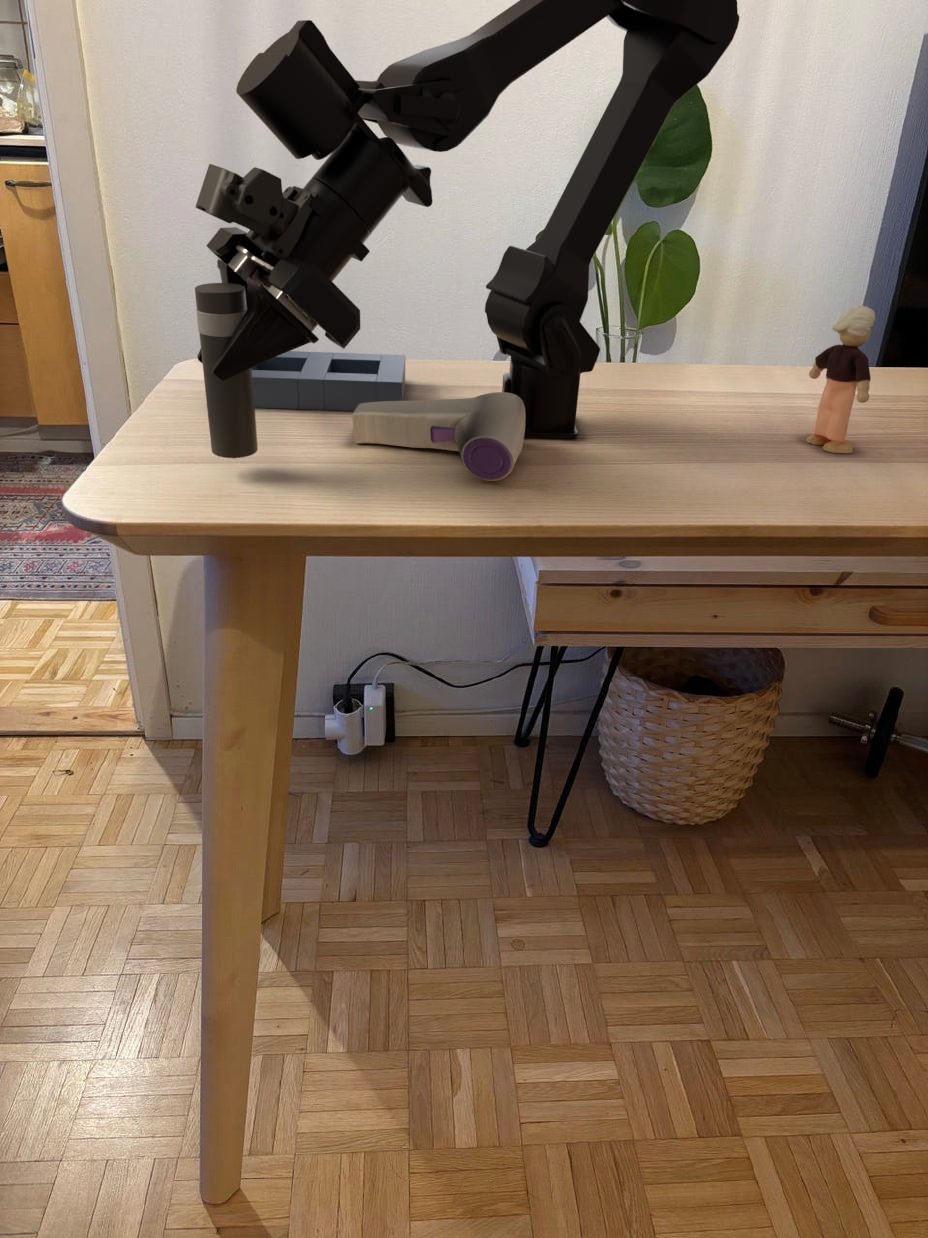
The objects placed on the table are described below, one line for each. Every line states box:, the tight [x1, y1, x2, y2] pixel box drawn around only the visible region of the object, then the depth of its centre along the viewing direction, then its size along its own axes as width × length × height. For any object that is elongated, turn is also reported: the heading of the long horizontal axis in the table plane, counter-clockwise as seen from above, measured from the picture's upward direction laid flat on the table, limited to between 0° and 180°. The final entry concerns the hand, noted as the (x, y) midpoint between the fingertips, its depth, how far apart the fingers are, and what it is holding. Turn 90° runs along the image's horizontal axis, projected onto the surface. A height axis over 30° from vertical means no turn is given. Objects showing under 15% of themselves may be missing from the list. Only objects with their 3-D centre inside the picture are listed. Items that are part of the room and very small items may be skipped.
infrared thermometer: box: [351, 391, 526, 482], centre depth 79 cm, size 5×12×15 cm
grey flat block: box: [252, 350, 406, 412], centre depth 93 cm, size 18×10×3 cm, turn 91°
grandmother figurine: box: [806, 305, 876, 454], centre depth 84 cm, size 8×4×13 cm, turn 31°
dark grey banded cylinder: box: [194, 282, 259, 459], centre depth 71 cm, size 4×4×12 cm
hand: (209, 369), depth 70 cm, fingers closed on dark grey banded cylinder, 3 cm apart
